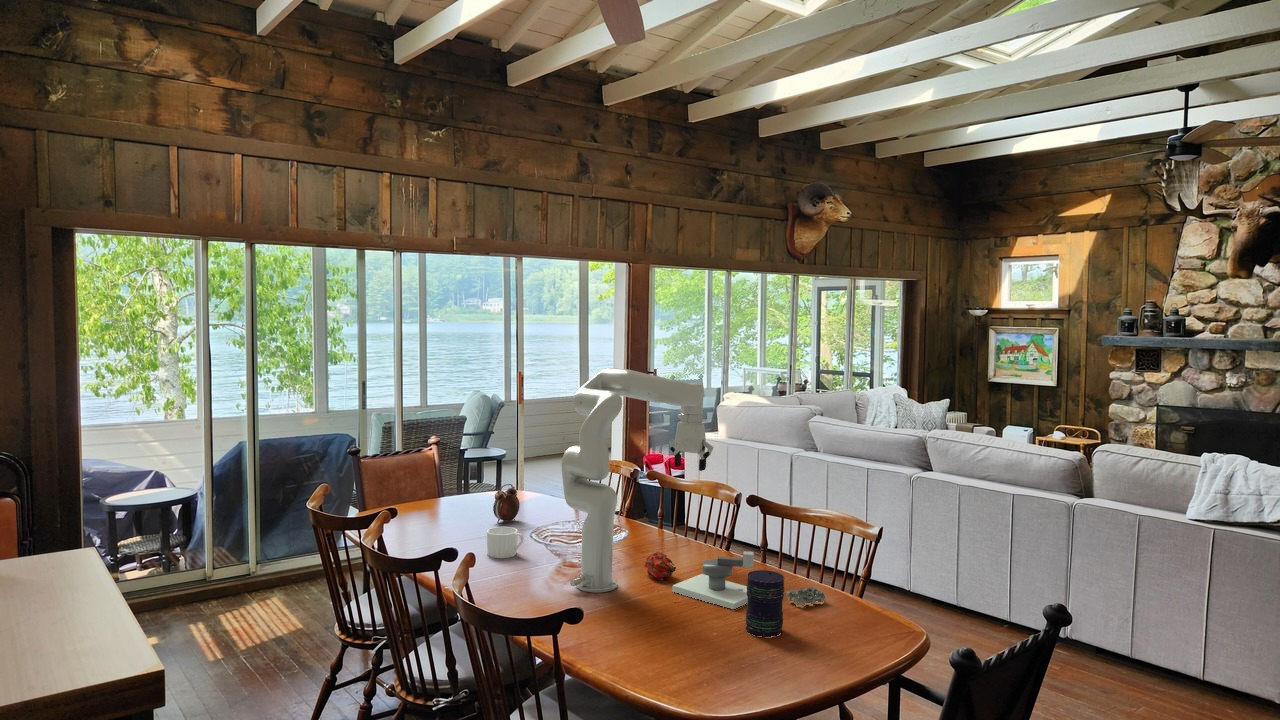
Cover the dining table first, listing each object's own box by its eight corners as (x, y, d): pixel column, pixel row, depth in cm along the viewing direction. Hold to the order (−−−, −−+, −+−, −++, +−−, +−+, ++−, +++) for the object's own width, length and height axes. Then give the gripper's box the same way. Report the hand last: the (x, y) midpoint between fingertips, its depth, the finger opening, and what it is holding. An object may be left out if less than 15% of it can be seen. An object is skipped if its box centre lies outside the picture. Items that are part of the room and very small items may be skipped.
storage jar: (773, 641, 208) (775, 584, 208) (739, 632, 214) (740, 577, 213) (788, 629, 217) (790, 574, 216) (754, 621, 222) (756, 567, 221)
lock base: (733, 610, 230) (734, 588, 229) (672, 591, 244) (672, 570, 243) (761, 597, 241) (762, 575, 241) (701, 580, 255) (701, 559, 255)
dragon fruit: (648, 575, 263) (671, 591, 253) (633, 565, 258) (655, 581, 248) (663, 553, 264) (686, 568, 255) (648, 542, 259) (671, 557, 250)
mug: (480, 556, 274) (480, 532, 274) (497, 547, 284) (497, 525, 283) (514, 561, 269) (515, 537, 269) (530, 553, 279) (531, 530, 278)
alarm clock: (511, 518, 324) (512, 481, 323) (520, 520, 321) (520, 483, 321) (491, 523, 315) (492, 485, 315) (500, 525, 313) (501, 487, 312)
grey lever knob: (700, 575, 238) (701, 554, 238) (703, 566, 247) (704, 545, 247) (752, 579, 236) (753, 557, 235) (753, 570, 245) (753, 549, 244)
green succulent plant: (797, 610, 232) (798, 596, 232) (783, 601, 239) (783, 588, 238) (828, 605, 236) (829, 592, 236) (813, 597, 243) (814, 583, 243)
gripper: (664, 417, 278) (662, 466, 279) (707, 422, 268) (706, 473, 269) (675, 415, 284) (674, 463, 285) (718, 420, 275) (717, 470, 276)
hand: (689, 468), depth 277 cm, fingers open, 9 cm apart
